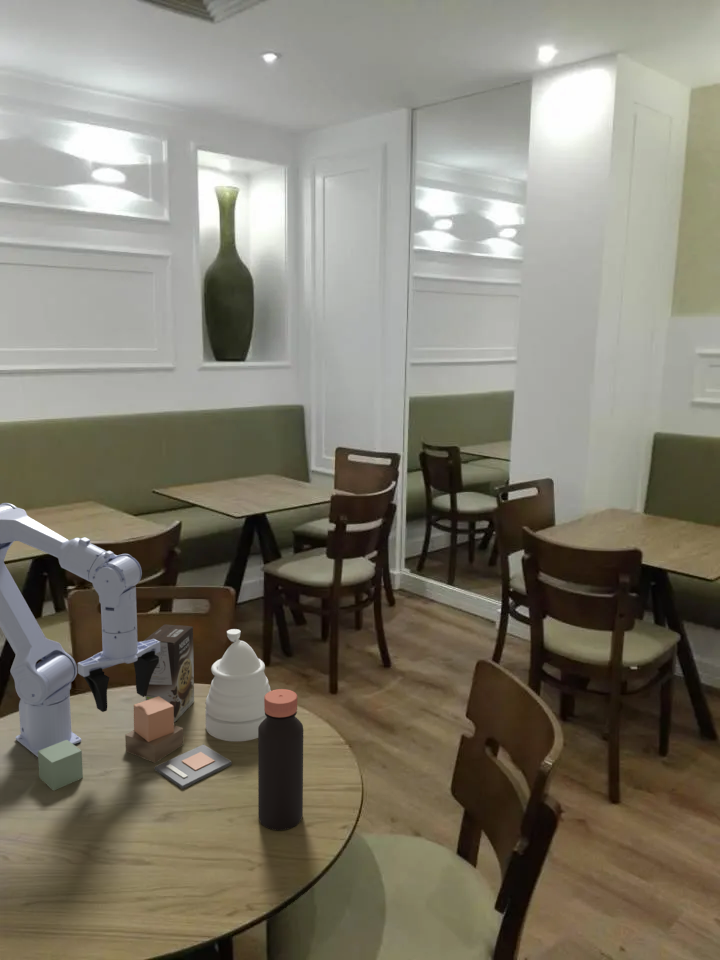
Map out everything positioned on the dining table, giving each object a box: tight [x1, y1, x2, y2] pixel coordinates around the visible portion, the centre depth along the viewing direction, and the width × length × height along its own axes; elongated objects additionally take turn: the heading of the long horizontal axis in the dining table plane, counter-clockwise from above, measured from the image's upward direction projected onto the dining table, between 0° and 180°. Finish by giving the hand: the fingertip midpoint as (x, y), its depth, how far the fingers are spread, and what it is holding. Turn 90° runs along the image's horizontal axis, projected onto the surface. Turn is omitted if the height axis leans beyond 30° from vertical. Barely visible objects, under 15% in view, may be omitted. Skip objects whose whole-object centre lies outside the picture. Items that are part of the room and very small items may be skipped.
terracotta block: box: [133, 696, 175, 742], centre depth 132 cm, size 5×5×5 cm
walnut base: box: [124, 724, 184, 763], centre depth 133 cm, size 7×7×4 cm
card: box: [154, 743, 232, 790], centre depth 128 cm, size 8×10×1 cm
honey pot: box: [204, 628, 272, 742], centre depth 141 cm, size 13×13×18 cm
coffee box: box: [143, 623, 195, 723], centre depth 146 cm, size 9×6×16 cm
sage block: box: [37, 740, 84, 791], centre depth 123 cm, size 5×5×5 cm
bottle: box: [257, 688, 304, 831], centre depth 113 cm, size 7×7×20 cm
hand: (122, 701), depth 129 cm, fingers open, 7 cm apart
